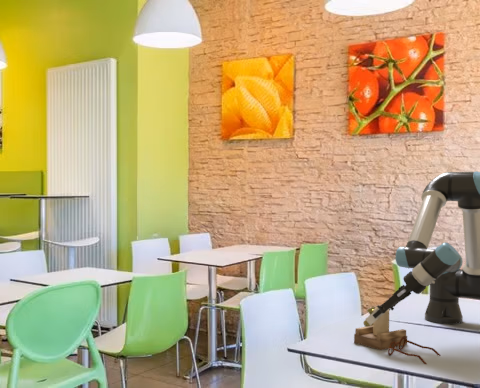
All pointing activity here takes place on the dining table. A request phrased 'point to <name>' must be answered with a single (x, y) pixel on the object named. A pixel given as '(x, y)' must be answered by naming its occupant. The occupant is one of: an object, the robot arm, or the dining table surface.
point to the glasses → (407, 353)
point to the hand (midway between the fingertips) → (371, 319)
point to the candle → (381, 323)
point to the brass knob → (370, 314)
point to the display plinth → (378, 338)
